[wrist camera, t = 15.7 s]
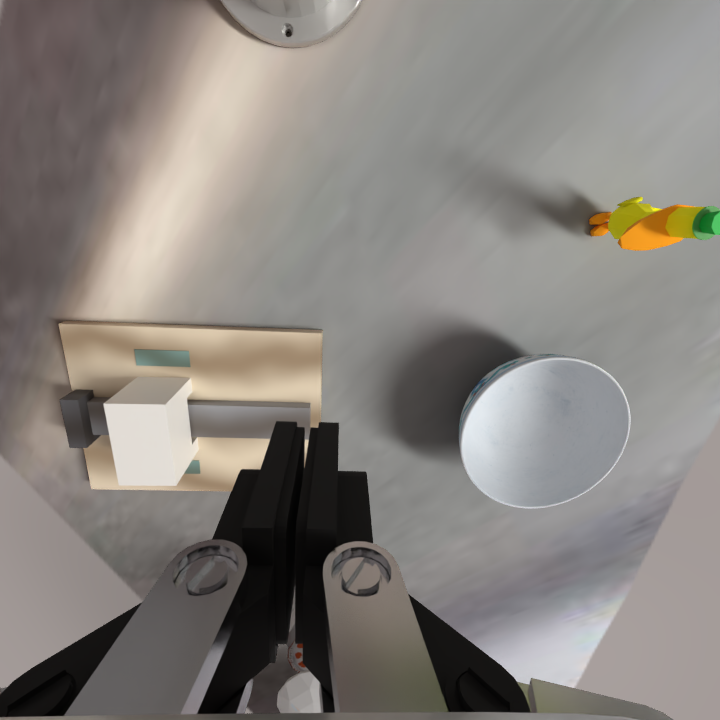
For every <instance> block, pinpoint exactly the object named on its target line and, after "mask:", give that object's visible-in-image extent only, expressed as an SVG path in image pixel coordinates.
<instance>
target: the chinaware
mask: <svg viewBox="0 0 720 720" xmlns="http://www.w3.org/2000/svg"><path fill="white" fill-rule="evenodd" d="M629 431H630V410H629V405H628V401H627V398H626V396H625V394H624V392H623V390H622V388H621V387H620V385H619V384H618V383H617V381H616V380H615V379H614V378H613V377H612V376H611V375H610V374H609V373H607V372H606V371H605V370H603V369H602V368H600V367H598V366H596V365H594V364H592V363H590V362H587V361H584V360H581V359H578V358H574V357H569V356H564V355H554V354H538V355H530V356H524V357H520V358H517V359H514V360H511V361H508V362H506V363H504V364H502V365H500V366H498V367H497V368H495V369H493V370H492V371H491V372H489V373H488V374H487V375H486V376H485V377H483V378H482V379H481V380H480V381H479V383H478V384H477V385H476V386H475V387H474V389H473V390H472V392H471V393H470V395H469V397H468V399H467V401H466V403H465V405H464V408H463V411H462V414H461V418H460V424H459V448H460V455H461V459H462V463H463V466H464V468H465V471H466V473H467V475H468V476H469V478H470V479H471V481H472V482H473V483H474V485H475V486H476V487H477V488H478V489H479V490H480V491H481V492H483V493H484V494H485V495H487V496H488V497H490V498H491V499H493V500H495V501H497V502H500V503H502V504H505V505H508V506H513V507H518V508H544V507H550V506H555V505H558V504H562V503H565V502H567V501H570V500H572V499H574V498H576V497H578V496H580V495H582V494H584V493H585V492H587V491H589V490H590V489H591V488H593V487H594V486H595V485H597V484H598V483H599V482H600V481H601V480H602V479H603V478H604V477H605V476H606V475H607V474H608V473H609V472H610V471H611V470H612V468H613V467H614V466H615V464H616V463H617V461H618V460H619V458H620V456H621V454H622V453H623V450H624V448H625V446H626V443H627V440H628V436H629Z"/></svg>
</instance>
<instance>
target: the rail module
mask: <svg viewBox="0 0 720 720" xmlns="http://www.w3.org/2000/svg"><path fill="white" fill-rule="evenodd" d="M191 393H192V383H191V378H180V377H137V378H136V379H134V380H133V381H132V382H131V383H129V384H128V385H127V386H125V387H124V388H123V389H122V390H120V391H119V392H118V393H116V394H115V395H114V396H113V397H111V398H110V399H109V400H107V401H106V402H105V403H104V410H105V415H106V420H107V426H108V431H109V436H110V441H111V447H112V452H113V457H114V463H115V468H116V473H117V479H118V484H119V485H121V486H176V485H177V484H178V482H179V481H180V479H181V477H182V476H183V474H184V473H185V471H186V469H187V468H188V466H189V465H190V463H191V461H192V460H193V458H194V456H195V455H196V453H197V452H198V450H199V448H198V439H197V437H191V430H190V421H189V412H188V404H187V398H188V396H189V395H190V394H191Z"/></svg>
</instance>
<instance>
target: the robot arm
mask: <svg viewBox="0 0 720 720" xmlns="http://www.w3.org/2000/svg"><path fill="white" fill-rule="evenodd" d="M220 1H221V3H222V4H223V6H224V7H225V8H226V9H227V11H228V12H229V13H230V14H231V16H232V17H233V18H234V20H236V21H237V22H238V23H239V24H240V25H241V26H242V27H243V28H245V29H246V30H247V31H248V32H250V33H251V34H253V35H254V36H256V37H258V38H259V39H261V40H263V41H266V42H269V43H271V44H274V45H277V46H283V47H291V48H296V47H306V46H311V45H314V44H317V43H320V42H323V41H324V40H326V39H328V38H329V37H331V36H333V35H334V34H336V33H337V32H338V31H339V30H340V29H341V28H343V27H344V26H345V25H346V24H347V23H348V22H349V21H350V19H351V18H352V16H353V15H354V14H355V12H356V11H357V9H358V8H359V6H360V4H361V2H362V0H220ZM287 32H291V33H292V36H291V37H286V33H287ZM338 434H339V423H326V422H319V425H318V428H315V427H311V428H310V435H309V441H308V448H307V455H306V461H305V428H304V427H297V422H291V421H276V423H275V426H274V429H273V432H272V435H271V438H270V442H269V445H268V448H267V451H266V454H265V457H264V460H263V463H262V466H261V469H242V470H240V472H239V474H238V477H237V479H236V482H235V484H234V487H233V489H232V492H231V494H230V496H229V499H228V501H227V504H226V506H225V509H224V511H223V514H222V516H221V519H220V521H219V524H218V526H217V529H216V531H215V534H214V536H213V539H212V540H207V541H203V542H199V543H196V544H194V545H192V546H190V547H187V548H186V549H185V550H183V551H182V552H180V553H179V554H177V555H176V556H175V558H174V559H173V560H172V561H171V562H170V563H169V564H168V566H167V567H166V569H165V570H164V572H163V573H162V574H161V576H160V577H159V579H158V580H157V582H156V583H155V585H154V586H153V587H152V589H151V590H150V592H149V593H148V595H147V596H146V598H145V599H144V600H143V602H142V603H140V604H139V605H137V606H135V607H133V608H132V609H130V610H128V611H127V612H125V613H123V614H122V615H120V616H118V617H117V618H115V619H113V620H112V621H110V622H108V623H107V624H105V625H103V626H102V627H100V628H98V629H97V630H95V631H94V632H92V633H90V634H88V635H87V636H85V637H83V638H82V639H80V640H78V641H77V642H75V643H73V644H72V645H70V646H68V647H67V648H65V649H64V650H61V651H60V652H58V653H56V654H55V655H53V656H51V657H50V658H48V659H47V660H45V661H43V662H41V663H40V664H38V665H36V666H35V667H33V668H31V669H30V670H29V671H27V672H26V673H24V674H23V675H21V676H20V677H19V678H17V679H16V680H14V681H13V682H12V683H11V684H10V685H9V686H8V687H6V688H0V720H673V719H672V718H670V717H669V716H667V715H666V714H664V713H663V712H660V711H658V710H655V709H653V708H650V707H648V706H646V705H642V704H637V703H633V702H629V701H625V700H620V699H616V698H612V697H608V696H604V695H599V694H595V693H591V692H587V691H583V690H579V689H575V688H571V687H566V686H562V685H558V684H554V683H550V682H546V681H541V680H537V679H533V678H531V681H530V684H529V685H528V684H524V683H520V682H516V680H515V679H514V677H513V676H512V675H511V674H509V673H508V672H507V671H506V670H505V669H504V668H503V667H502V666H501V665H500V664H498V663H497V662H496V661H495V660H493V659H492V658H491V657H489V656H488V655H487V654H485V653H484V652H483V651H482V650H480V649H479V648H478V647H476V646H475V645H474V644H472V643H471V642H470V641H469V640H467V639H466V638H465V637H463V636H462V635H461V634H459V633H458V632H457V631H456V630H454V629H453V628H452V627H450V626H449V625H448V624H446V623H445V622H444V621H443V620H441V619H440V618H439V617H437V616H436V615H435V614H434V613H432V612H431V611H430V610H428V609H427V608H426V607H424V606H423V605H422V604H421V603H419V602H418V601H417V600H415V599H414V598H413V597H411V596H410V595H409V594H408V592H407V589H406V587H405V584H404V581H403V578H402V575H401V572H400V569H399V566H398V564H397V562H396V561H395V559H394V557H393V556H392V555H391V554H390V553H389V552H388V551H387V550H386V549H384V548H382V547H380V546H378V545H377V544H373V537H372V526H371V515H370V504H369V494H368V483H367V473H366V472H356V471H338ZM304 461H305V468H304ZM294 590H295V644H303V661H302V663H303V664H304V665H305V666H306V668H307V669H308V670H309V671H310V672H311V673H312V674H313V675H314V677H315V678H316V679H317V680H318V681H319V682H320V683H319V697H320V708H321V713H256V714H244V713H245V710H246V707H247V704H248V701H249V698H250V695H251V691H252V685H253V677H254V676H256V675H257V674H258V673H259V672H260V671H261V670H262V669H263V668H265V667H266V666H267V665H268V664H269V663H275V661H276V654H277V648H278V644H287V642H288V636H289V629H290V621H291V613H292V605H293V598H294Z"/></svg>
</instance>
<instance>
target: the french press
mask: <svg viewBox="0 0 720 720" xmlns="http://www.w3.org/2000/svg"><path fill="white" fill-rule="evenodd" d="M287 646H288V648H289V649H288V661H289V663H290V665H291V667H292V668H293V669H294V670H295V671H297V672H298V674H296V675H294V676H292V677H290V678H288V680H287V681H286V682H285V684H284V685H283V686H282V688H281V689H280V690H279V692H278V698H277V707H278V709H279V711H280V713H321V708H320V697H319V683H320V682H319V681H318V680H317V679H316V678H315V677H314V675H313V674H312V673H311V672H310V671H309V670H308V669H307V668H306V666H305V665H304V664H303V663H302V661H303V644H295V590H294V598H293V605H292V613H291V621H290V629H289V636H288V642H287Z"/></svg>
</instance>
